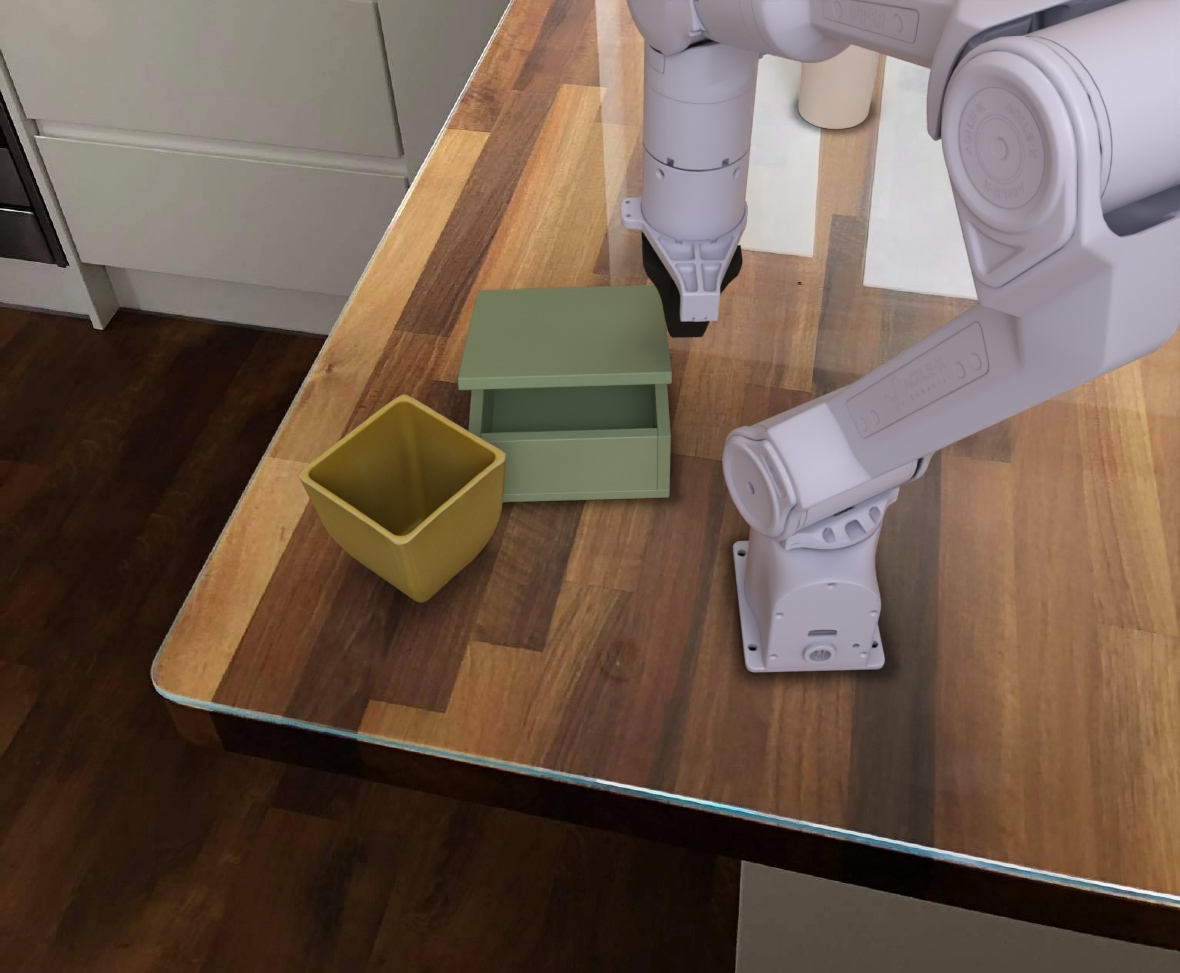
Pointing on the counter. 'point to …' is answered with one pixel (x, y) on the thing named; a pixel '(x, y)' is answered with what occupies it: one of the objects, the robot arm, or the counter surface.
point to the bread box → (578, 440)
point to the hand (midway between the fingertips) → (686, 329)
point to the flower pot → (409, 495)
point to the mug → (838, 88)
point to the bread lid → (566, 338)
